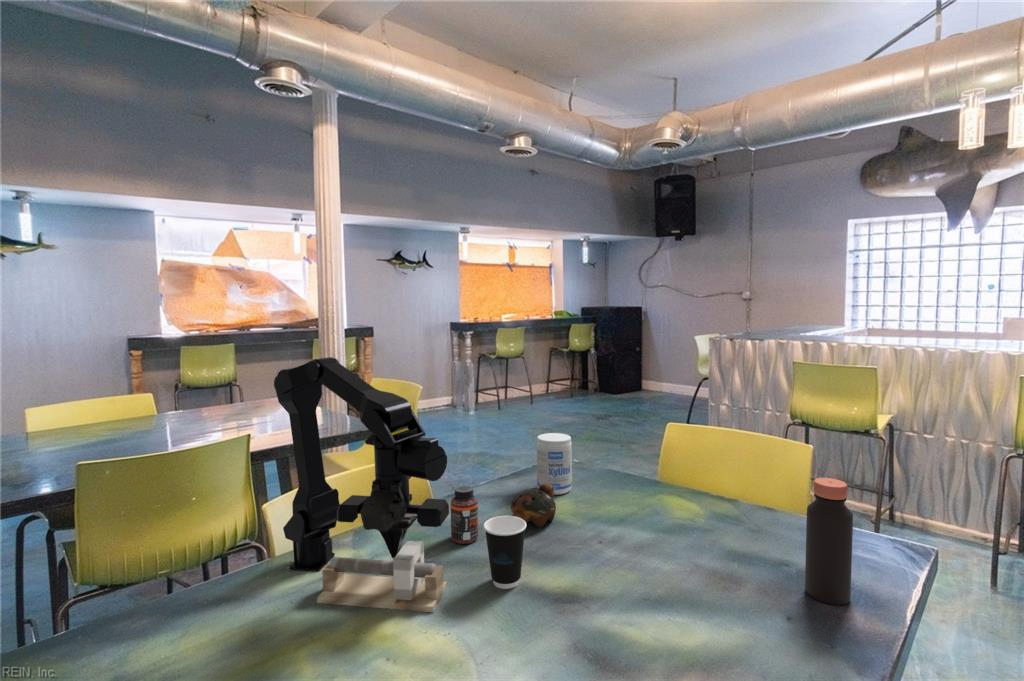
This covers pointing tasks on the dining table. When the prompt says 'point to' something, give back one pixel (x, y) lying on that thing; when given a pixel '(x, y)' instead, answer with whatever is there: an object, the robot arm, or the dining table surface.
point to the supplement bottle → (464, 516)
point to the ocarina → (535, 505)
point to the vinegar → (829, 543)
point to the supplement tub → (554, 461)
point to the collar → (407, 570)
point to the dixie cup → (505, 549)
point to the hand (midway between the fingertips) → (395, 557)
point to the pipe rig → (378, 585)
